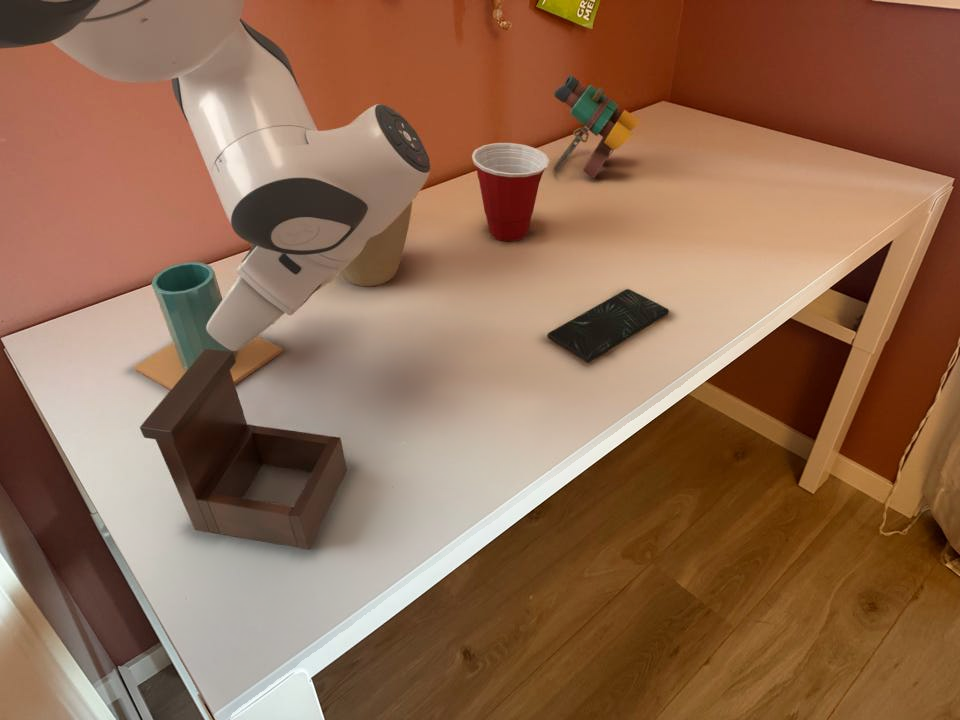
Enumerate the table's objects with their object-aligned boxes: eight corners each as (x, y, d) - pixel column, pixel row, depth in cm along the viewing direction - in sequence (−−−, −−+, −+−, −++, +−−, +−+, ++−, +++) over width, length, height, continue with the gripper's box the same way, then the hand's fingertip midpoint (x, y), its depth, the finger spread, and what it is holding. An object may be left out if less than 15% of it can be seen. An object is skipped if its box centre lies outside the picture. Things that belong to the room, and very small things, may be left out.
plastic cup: (548, 250, 102) (552, 170, 95) (473, 251, 103) (470, 172, 95) (544, 214, 111) (547, 139, 103) (474, 215, 111) (472, 140, 104)
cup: (205, 381, 81) (176, 300, 74) (169, 361, 84) (139, 282, 77) (249, 352, 85) (226, 272, 78) (213, 334, 88) (188, 256, 81)
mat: (201, 408, 78) (199, 405, 78) (135, 370, 83) (133, 366, 83) (283, 351, 86) (282, 348, 85) (217, 319, 91) (216, 316, 91)
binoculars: (579, 204, 120) (633, 135, 110) (512, 154, 119) (560, 80, 109) (599, 171, 130) (650, 104, 120) (537, 124, 129) (584, 54, 119)
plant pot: (293, 280, 98) (268, 170, 88) (369, 235, 107) (355, 131, 97) (372, 316, 91) (355, 201, 81) (446, 265, 100) (439, 156, 90)
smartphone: (670, 309, 89) (588, 359, 81) (669, 316, 89) (588, 366, 82) (627, 287, 93) (545, 333, 85) (626, 293, 93) (545, 339, 86)
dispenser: (348, 466, 71) (327, 363, 62) (307, 553, 63) (276, 447, 55) (239, 450, 73) (205, 348, 65) (185, 532, 65) (138, 427, 57)
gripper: (323, 172, 77) (259, 244, 85) (234, 271, 62) (166, 348, 70) (367, 213, 79) (301, 279, 87) (291, 319, 64) (219, 388, 72)
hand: (240, 311), depth 78 cm, fingers open, 8 cm apart
